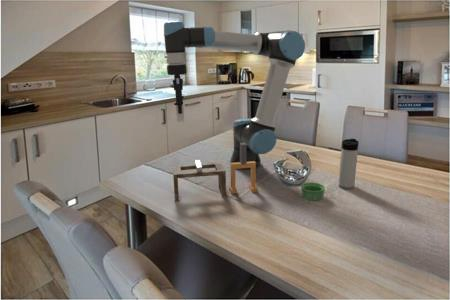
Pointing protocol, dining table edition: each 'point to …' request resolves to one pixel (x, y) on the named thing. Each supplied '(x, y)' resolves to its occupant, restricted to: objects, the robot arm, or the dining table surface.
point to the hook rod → (198, 165)
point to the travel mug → (348, 163)
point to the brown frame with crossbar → (219, 171)
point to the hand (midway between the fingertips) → (180, 118)
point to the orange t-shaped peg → (243, 165)
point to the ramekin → (312, 191)
